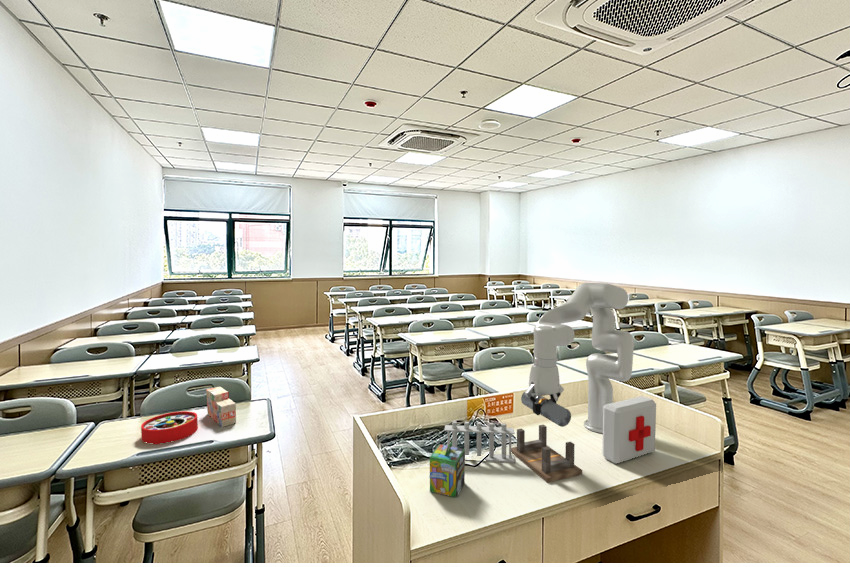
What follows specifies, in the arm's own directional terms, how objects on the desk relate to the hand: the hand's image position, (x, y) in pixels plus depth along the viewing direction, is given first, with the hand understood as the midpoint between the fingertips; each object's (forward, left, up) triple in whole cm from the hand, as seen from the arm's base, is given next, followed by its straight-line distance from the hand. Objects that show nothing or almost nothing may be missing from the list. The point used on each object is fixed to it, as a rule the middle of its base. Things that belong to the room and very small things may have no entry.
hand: (544, 412), depth 139 cm
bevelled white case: (-32, +7, -18) cm, 38 cm away
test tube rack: (+20, -11, -19) cm, 29 cm away
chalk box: (+38, +2, -18) cm, 42 cm away
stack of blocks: (+114, -86, -19) cm, 144 cm away
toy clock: (+132, -76, -19) cm, 154 cm away
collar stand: (0, 0, -18) cm, 18 cm away
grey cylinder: (0, 0, +2) cm, 2 cm away
